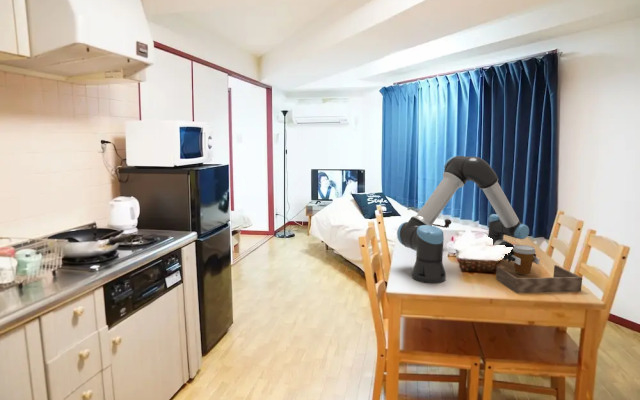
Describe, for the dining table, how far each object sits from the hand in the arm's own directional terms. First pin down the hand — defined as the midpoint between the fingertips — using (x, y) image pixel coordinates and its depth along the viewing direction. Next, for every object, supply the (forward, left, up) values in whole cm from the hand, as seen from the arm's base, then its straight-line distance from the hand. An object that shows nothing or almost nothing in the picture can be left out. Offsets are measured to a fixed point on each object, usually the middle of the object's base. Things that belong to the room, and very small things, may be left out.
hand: (529, 261), depth 186 cm
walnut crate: (-1, -8, -8) cm, 12 cm away
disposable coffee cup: (0, +5, -7) cm, 8 cm away
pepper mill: (-25, +54, -8) cm, 60 cm away
